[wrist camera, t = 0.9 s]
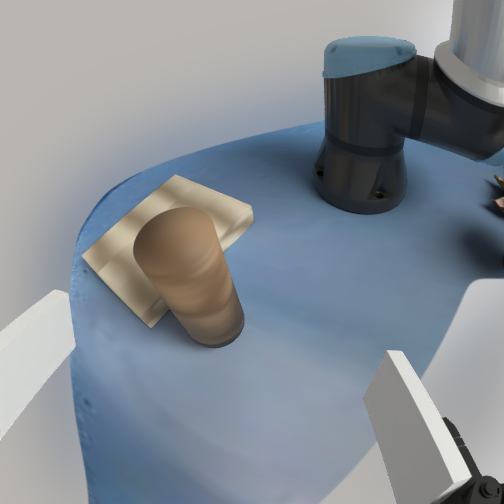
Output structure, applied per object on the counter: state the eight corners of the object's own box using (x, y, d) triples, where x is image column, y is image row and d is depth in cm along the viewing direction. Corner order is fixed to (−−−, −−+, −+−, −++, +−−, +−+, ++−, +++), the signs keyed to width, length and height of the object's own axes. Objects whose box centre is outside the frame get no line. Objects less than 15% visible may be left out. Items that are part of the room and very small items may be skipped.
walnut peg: (218, 298, 35) (175, 197, 23) (259, 324, 32) (232, 225, 20) (184, 335, 32) (118, 248, 20) (224, 366, 29) (169, 289, 17)
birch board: (180, 188, 49) (175, 174, 47) (254, 221, 42) (251, 205, 39) (91, 267, 40) (81, 255, 38) (150, 328, 33) (140, 317, 31)
